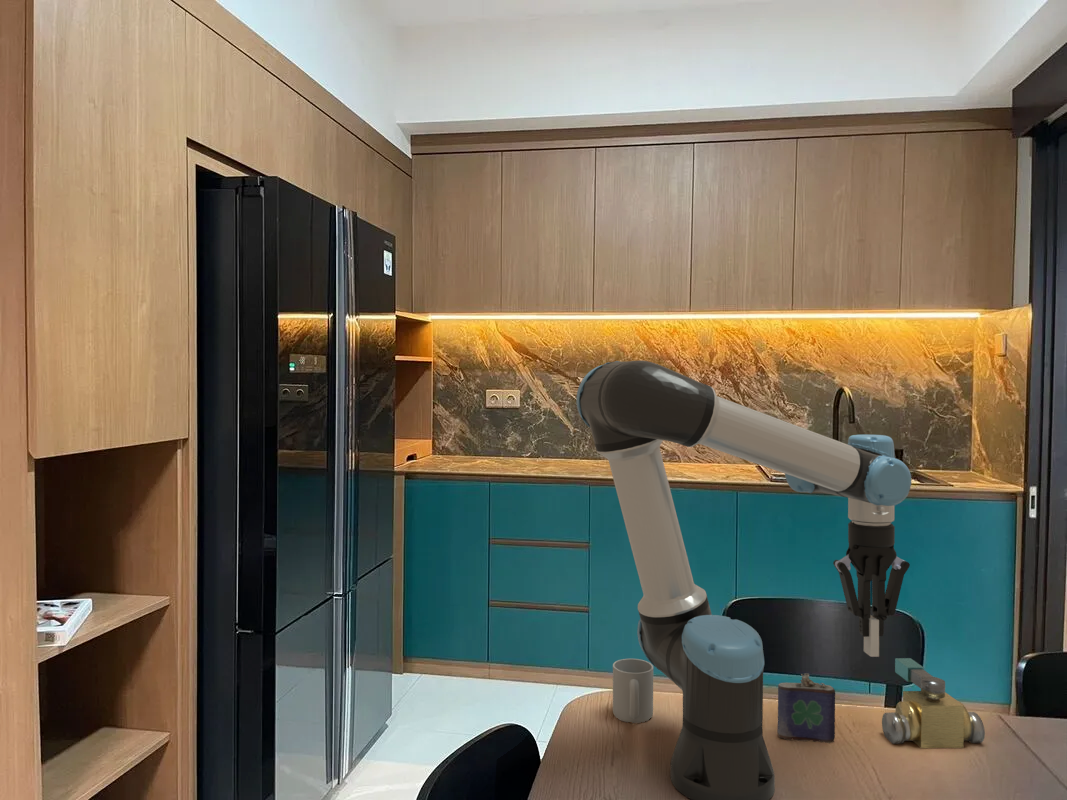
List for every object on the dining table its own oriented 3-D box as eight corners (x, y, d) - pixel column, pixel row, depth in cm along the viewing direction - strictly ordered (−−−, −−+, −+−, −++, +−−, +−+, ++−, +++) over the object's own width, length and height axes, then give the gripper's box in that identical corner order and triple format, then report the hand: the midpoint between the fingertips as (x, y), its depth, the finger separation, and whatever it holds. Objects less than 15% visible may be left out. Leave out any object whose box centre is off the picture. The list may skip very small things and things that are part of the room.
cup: (651, 707, 140) (651, 659, 140) (655, 731, 130) (656, 680, 130) (612, 705, 141) (612, 658, 141) (613, 730, 131) (613, 678, 131)
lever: (949, 699, 126) (949, 684, 126) (927, 699, 126) (928, 684, 125) (912, 671, 137) (912, 658, 137) (892, 672, 137) (893, 658, 137)
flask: (778, 739, 128) (779, 676, 127) (776, 731, 130) (776, 669, 130) (836, 744, 126) (837, 680, 126) (832, 736, 129) (833, 673, 129)
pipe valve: (897, 750, 124) (898, 703, 124) (880, 733, 130) (880, 688, 130) (986, 750, 125) (987, 703, 125) (965, 733, 131) (966, 688, 131)
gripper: (843, 526, 131) (843, 662, 131) (918, 525, 131) (918, 661, 132) (826, 518, 138) (826, 647, 139) (897, 517, 139) (897, 645, 139)
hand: (871, 653), depth 135 cm, fingers closed
